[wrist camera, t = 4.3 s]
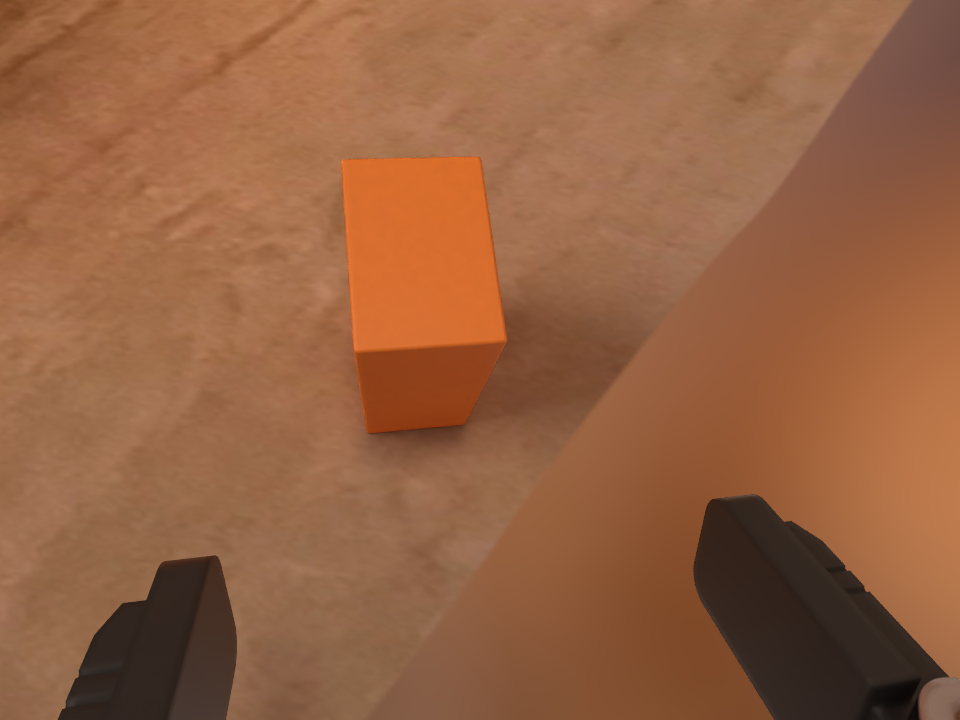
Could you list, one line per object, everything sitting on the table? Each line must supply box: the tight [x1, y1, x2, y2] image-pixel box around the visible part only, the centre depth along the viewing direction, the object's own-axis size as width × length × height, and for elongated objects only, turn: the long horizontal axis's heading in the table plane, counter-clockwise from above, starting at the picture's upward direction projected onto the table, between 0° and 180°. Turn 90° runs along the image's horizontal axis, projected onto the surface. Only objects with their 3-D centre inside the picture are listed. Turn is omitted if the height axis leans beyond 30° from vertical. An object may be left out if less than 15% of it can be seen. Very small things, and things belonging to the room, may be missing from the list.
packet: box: [341, 157, 507, 433], centre depth 20 cm, size 5×4×9 cm
